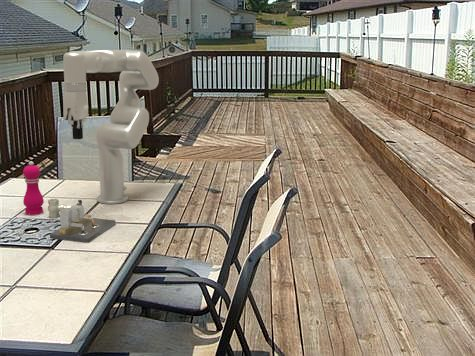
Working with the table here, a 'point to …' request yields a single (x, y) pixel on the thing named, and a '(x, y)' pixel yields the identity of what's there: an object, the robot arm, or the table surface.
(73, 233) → the bolt plate
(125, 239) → the table surface
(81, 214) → the block
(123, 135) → the robot arm
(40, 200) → the magenta pepper mill
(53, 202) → the valve
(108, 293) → the table surface
